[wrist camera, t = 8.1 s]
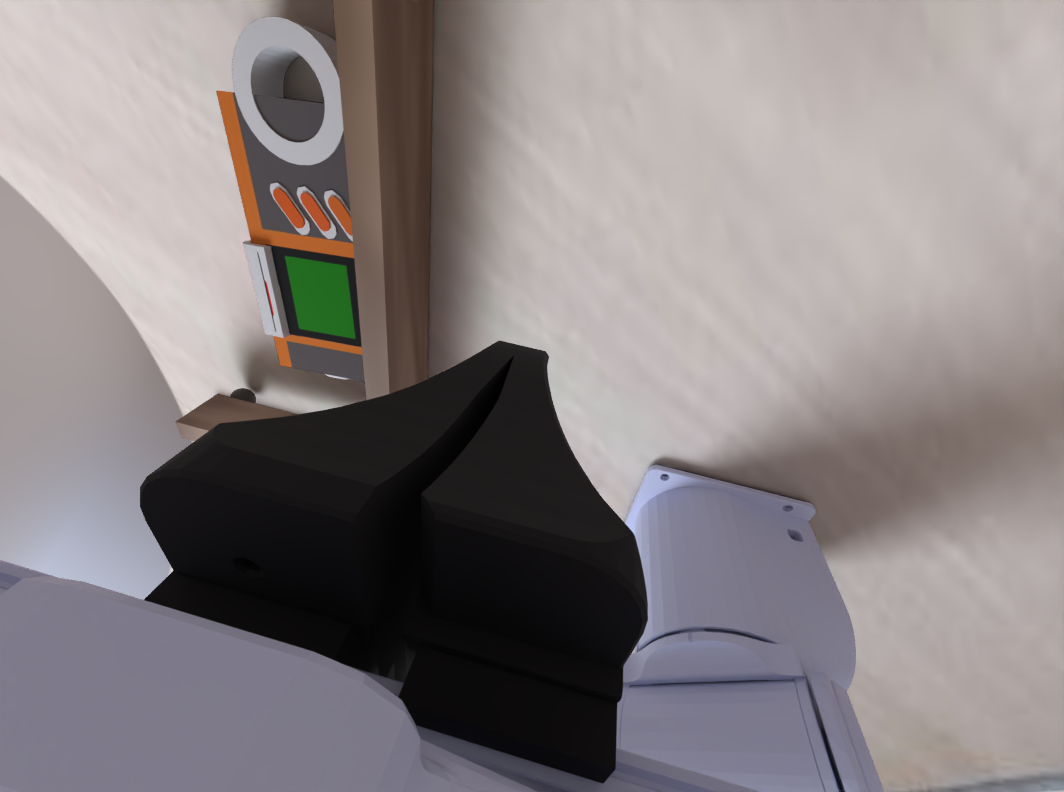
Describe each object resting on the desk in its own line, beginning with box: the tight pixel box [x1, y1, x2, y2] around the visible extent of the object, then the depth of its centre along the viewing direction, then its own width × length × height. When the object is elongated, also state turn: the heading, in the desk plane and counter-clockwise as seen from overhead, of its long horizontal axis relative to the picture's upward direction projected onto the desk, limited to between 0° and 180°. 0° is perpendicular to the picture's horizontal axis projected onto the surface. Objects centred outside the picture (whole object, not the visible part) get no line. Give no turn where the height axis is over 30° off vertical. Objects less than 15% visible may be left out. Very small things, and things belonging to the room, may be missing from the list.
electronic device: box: [216, 17, 365, 382], centre depth 20 cm, size 7×3×15 cm
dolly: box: [176, 0, 434, 441], centre depth 20 cm, size 13×23×4 cm, turn 171°
